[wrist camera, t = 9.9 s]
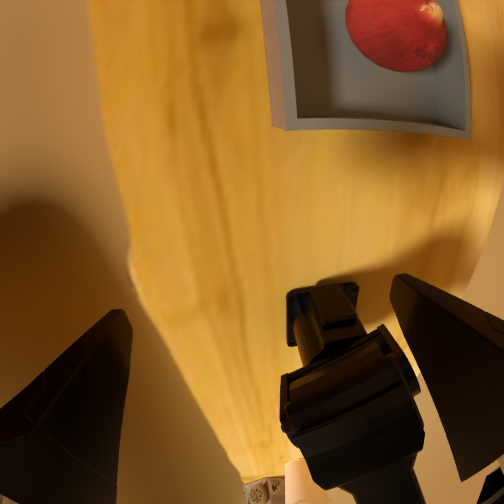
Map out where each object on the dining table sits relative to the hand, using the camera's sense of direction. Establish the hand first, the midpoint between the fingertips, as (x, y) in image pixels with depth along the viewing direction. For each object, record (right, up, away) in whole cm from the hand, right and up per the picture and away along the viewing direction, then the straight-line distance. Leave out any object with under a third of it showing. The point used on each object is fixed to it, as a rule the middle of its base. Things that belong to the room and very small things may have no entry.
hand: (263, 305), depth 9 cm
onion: (+7, +16, +5) cm, 18 cm away
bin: (+7, +16, +5) cm, 19 cm away
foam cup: (+10, -43, +39) cm, 59 cm away
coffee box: (+3, -57, +45) cm, 73 cm away
